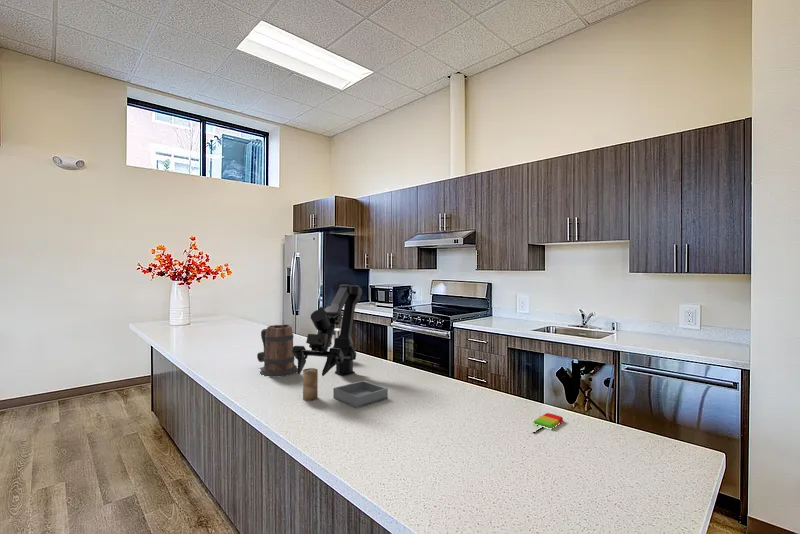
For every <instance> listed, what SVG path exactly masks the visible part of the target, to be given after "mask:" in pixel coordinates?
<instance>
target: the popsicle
mask: <svg viewBox="0 0 800 534" xmlns="http://www.w3.org/2000/svg"><path fill="white" fill-rule="evenodd" d="M561 422H563V423H564V419H563V416H560V415H557V414H553V413H549V412H546V413H545V414H543V415H541V416H540V417H538V418H536V419H534V421H533V424H534V423H535V424H538V425H541V426H545V427H548V428H553V427H555V426H556V425H558V424H559V423H561ZM561 424H562V423H561ZM558 426H559V425H558ZM555 428H556V427H555Z"/></svg>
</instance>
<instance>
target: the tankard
mask: <svg viewBox="0 0 800 534" xmlns="http://www.w3.org/2000/svg"><path fill="white" fill-rule="evenodd" d="M260 336H261V340H262V345H263V351H259V352H258V353H257V354H256V356H257V360H258V362H259V363H264V364H263V366H262V368H261V370H260V371H259V372H260V374H261V375H260V374H259V375H260V376H262V375H264V376H263V377H266V376H282V377H286V376H285V375H288V376H291V375H290V374H292V375H295V374H297V373H298V365H296V364H295V361H296V358H295V356H294V355H293V353H292V349H293V347H294V334H293V330H292V325H291V324H273V325H269V326H267V327H266V328H264V329H262V330H261V332H260ZM296 372H297V373H296ZM294 373H295V374H294Z"/></svg>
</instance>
